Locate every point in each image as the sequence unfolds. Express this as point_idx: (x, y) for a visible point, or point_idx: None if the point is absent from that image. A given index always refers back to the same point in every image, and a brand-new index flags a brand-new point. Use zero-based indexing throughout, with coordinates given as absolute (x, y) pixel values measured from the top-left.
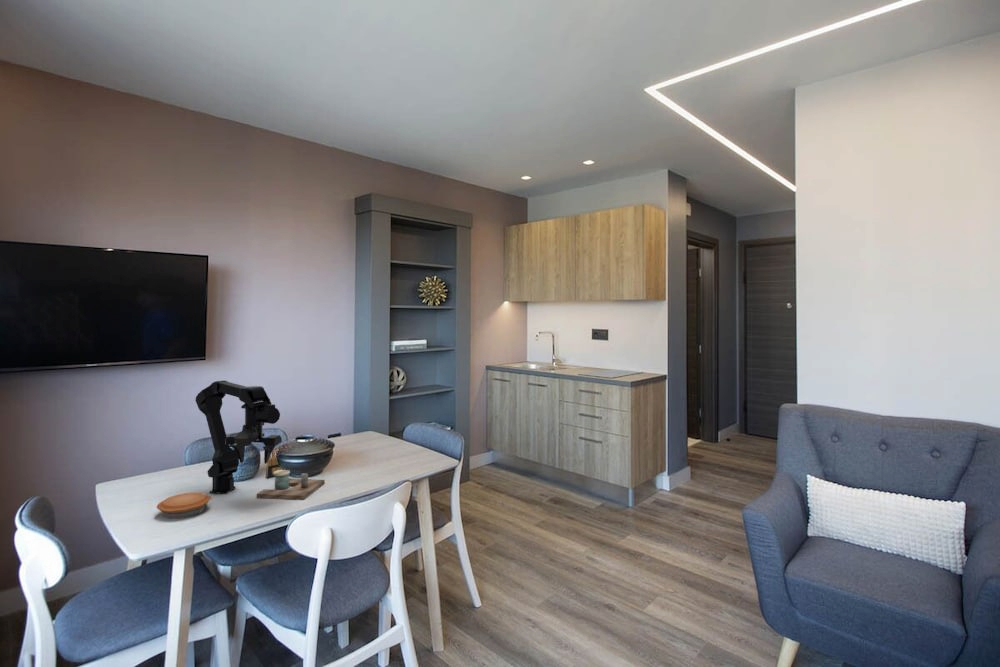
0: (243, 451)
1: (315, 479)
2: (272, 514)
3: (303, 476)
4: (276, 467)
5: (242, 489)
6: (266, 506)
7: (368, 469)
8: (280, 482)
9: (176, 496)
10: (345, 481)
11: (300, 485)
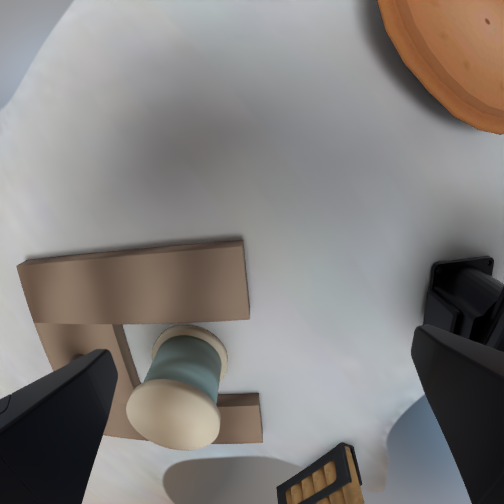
0: (468, 455)
1: (115, 436)
2: (44, 79)
3: None
4: (324, 488)
5: (386, 329)
6: (113, 144)
7: None
8: (163, 360)
9: None
10: None
11: None
